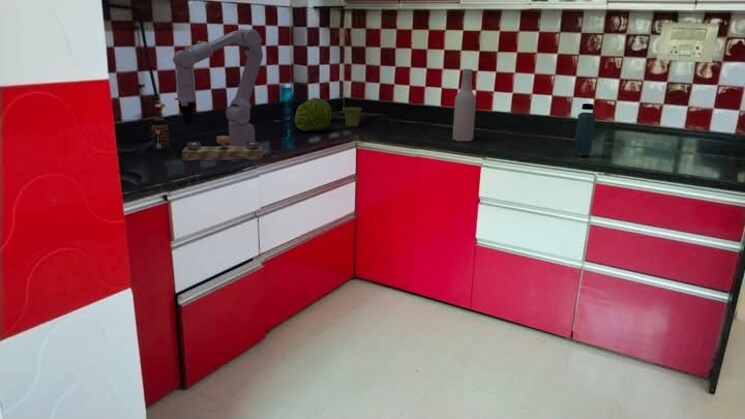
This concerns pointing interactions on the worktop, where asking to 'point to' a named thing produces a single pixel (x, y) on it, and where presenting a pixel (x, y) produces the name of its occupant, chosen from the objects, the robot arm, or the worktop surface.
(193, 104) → the robot arm
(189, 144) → the knob
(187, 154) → the knob bar
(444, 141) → the worktop surface
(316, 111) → the lettuce
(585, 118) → the beverage bottle
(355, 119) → the plant pot
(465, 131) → the alcohol
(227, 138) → the pot knob
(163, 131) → the supplement bottle
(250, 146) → the knob
